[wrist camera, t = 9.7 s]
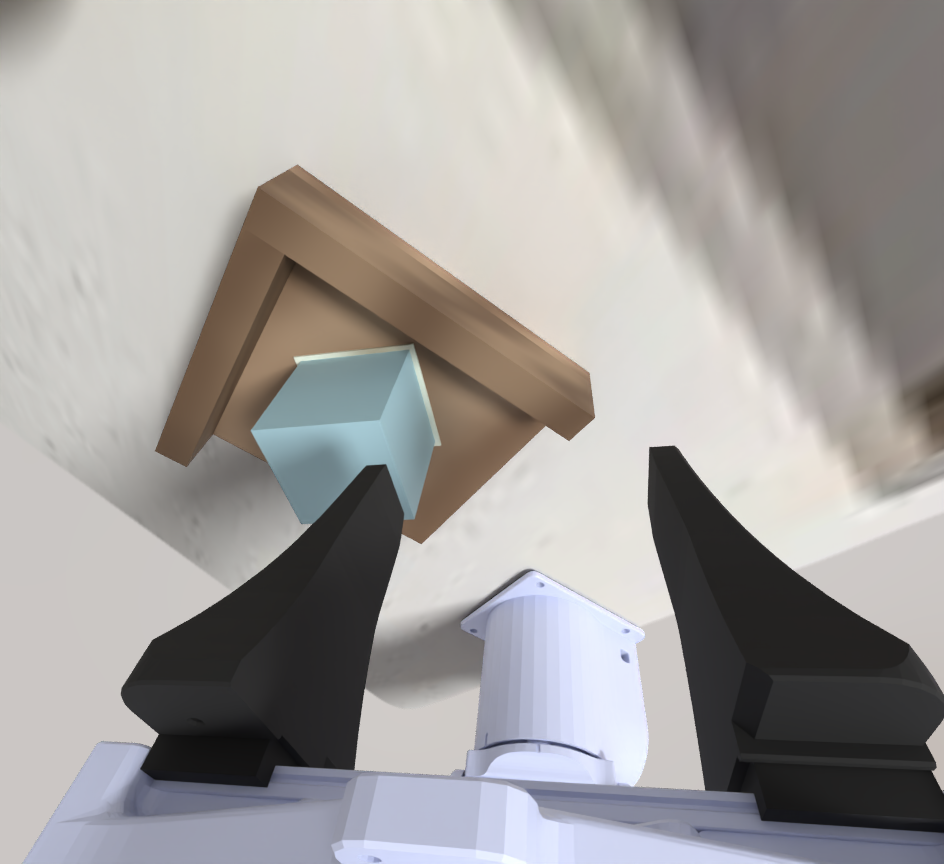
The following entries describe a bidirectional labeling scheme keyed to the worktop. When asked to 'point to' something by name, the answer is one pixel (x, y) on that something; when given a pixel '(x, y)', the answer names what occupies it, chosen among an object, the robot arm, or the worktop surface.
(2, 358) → the worktop surface
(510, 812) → the robot arm
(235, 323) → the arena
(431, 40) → the worktop surface
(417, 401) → the cube
